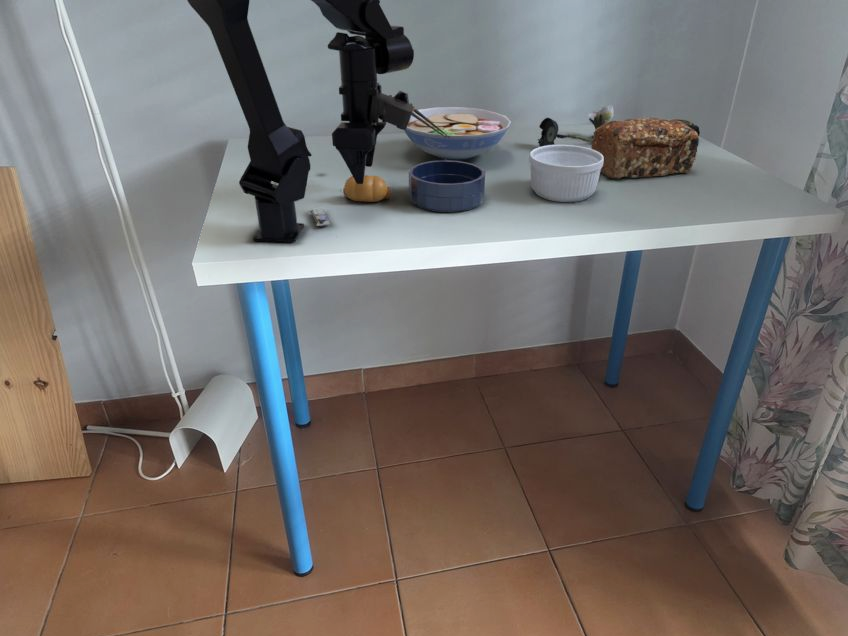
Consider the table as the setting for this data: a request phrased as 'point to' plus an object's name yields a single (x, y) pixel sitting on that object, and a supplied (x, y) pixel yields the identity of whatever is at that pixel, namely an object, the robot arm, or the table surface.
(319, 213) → the granola bar
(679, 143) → the bread
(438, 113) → the ramen bowl
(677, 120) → the tape measure
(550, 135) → the artificial flower
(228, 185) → the table surface
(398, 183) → the table surface
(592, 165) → the ramekin
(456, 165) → the bowl
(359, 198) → the croissant
